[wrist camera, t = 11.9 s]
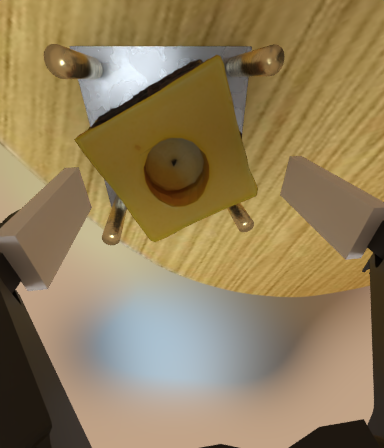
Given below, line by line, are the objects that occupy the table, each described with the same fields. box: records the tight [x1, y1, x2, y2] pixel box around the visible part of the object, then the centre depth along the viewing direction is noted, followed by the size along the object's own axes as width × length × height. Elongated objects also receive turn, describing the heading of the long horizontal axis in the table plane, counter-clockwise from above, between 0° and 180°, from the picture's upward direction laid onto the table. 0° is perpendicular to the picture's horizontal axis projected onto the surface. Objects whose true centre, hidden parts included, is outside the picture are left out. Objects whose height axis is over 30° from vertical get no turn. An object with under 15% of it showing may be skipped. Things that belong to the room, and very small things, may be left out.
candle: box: [74, 55, 258, 242], centre depth 19 cm, size 10×10×10 cm
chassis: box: [44, 44, 284, 245], centre depth 21 cm, size 16×16×10 cm
